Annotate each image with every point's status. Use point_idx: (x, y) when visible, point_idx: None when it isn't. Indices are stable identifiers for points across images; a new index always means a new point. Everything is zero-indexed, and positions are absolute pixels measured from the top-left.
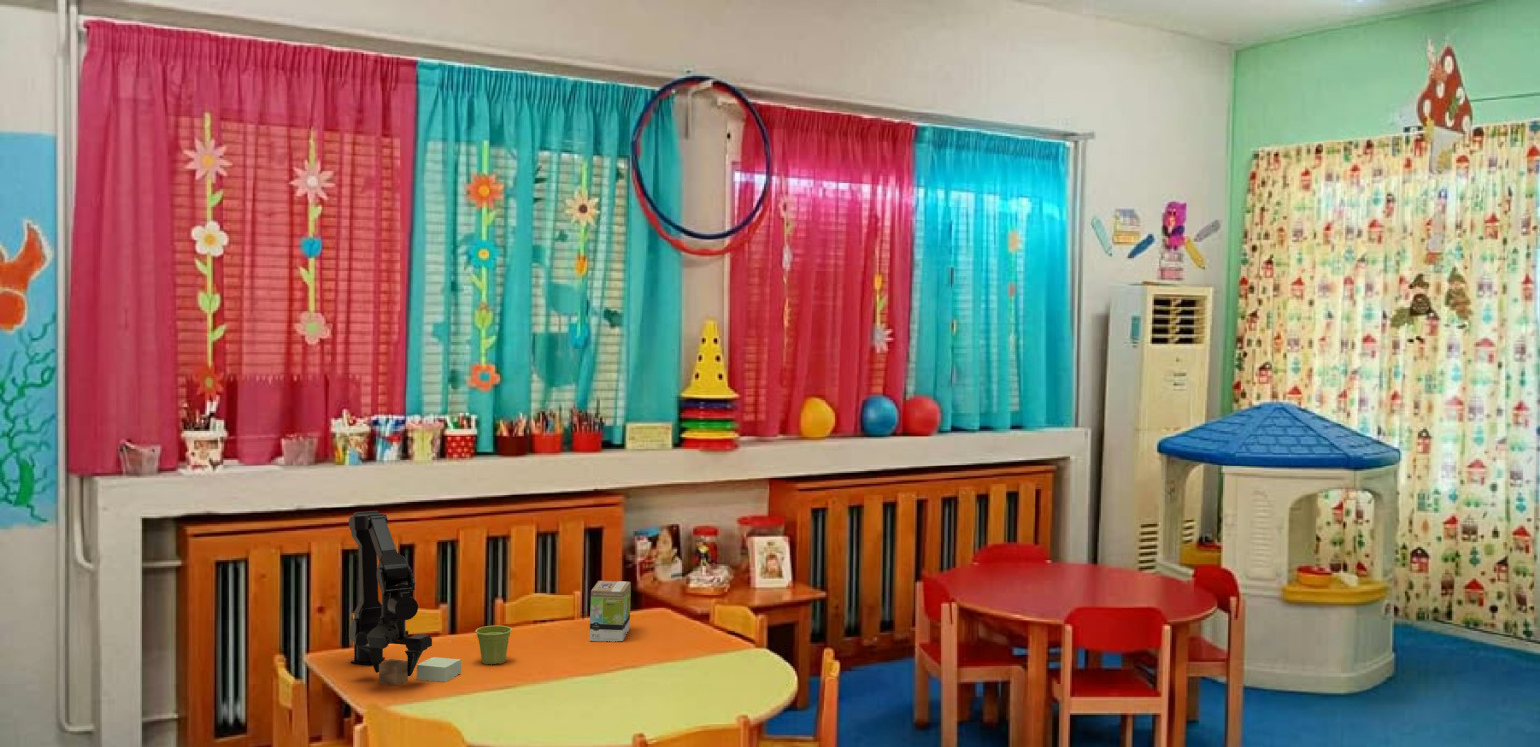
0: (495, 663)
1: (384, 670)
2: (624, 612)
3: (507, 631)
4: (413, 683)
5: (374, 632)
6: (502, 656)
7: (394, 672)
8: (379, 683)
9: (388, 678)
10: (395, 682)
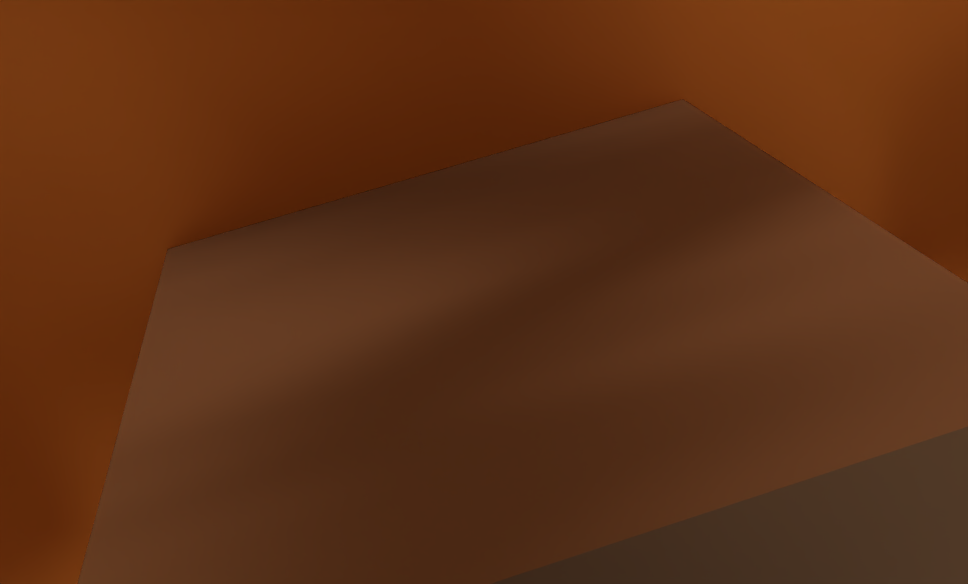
0: None
1: (670, 323)
2: None
3: None
4: (28, 580)
5: None
6: None
7: (201, 448)
8: (673, 106)
9: (438, 251)
10: (188, 276)
